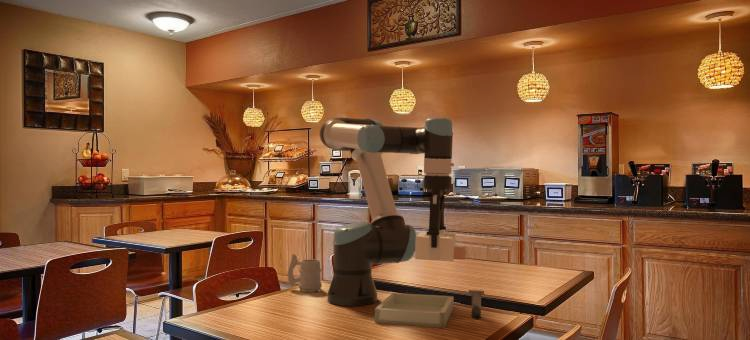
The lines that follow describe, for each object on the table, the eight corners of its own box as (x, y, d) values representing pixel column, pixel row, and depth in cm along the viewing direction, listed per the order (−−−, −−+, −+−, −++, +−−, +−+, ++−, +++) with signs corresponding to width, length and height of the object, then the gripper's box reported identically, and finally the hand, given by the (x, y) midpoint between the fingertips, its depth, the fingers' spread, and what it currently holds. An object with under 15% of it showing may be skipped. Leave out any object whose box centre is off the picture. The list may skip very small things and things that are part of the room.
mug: (318, 293, 170) (318, 256, 170) (283, 291, 172) (283, 255, 172) (324, 288, 178) (324, 253, 178) (291, 287, 180) (291, 252, 180)
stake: (468, 318, 140) (468, 291, 140) (469, 315, 142) (469, 289, 142) (483, 319, 139) (483, 292, 139) (484, 316, 141) (484, 290, 141)
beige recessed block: (415, 259, 139) (415, 236, 139) (420, 253, 149) (420, 232, 149) (464, 262, 136) (465, 239, 136) (466, 255, 146) (466, 234, 146)
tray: (374, 322, 135) (374, 308, 135) (392, 304, 155) (392, 292, 155) (444, 327, 131) (444, 313, 131) (453, 308, 150) (453, 296, 150)
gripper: (448, 176, 131) (446, 264, 131) (454, 174, 153) (453, 250, 153) (418, 175, 133) (416, 262, 133) (428, 174, 155) (427, 249, 155)
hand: (436, 256), depth 143 cm, fingers closed on beige recessed block, 10 cm apart
